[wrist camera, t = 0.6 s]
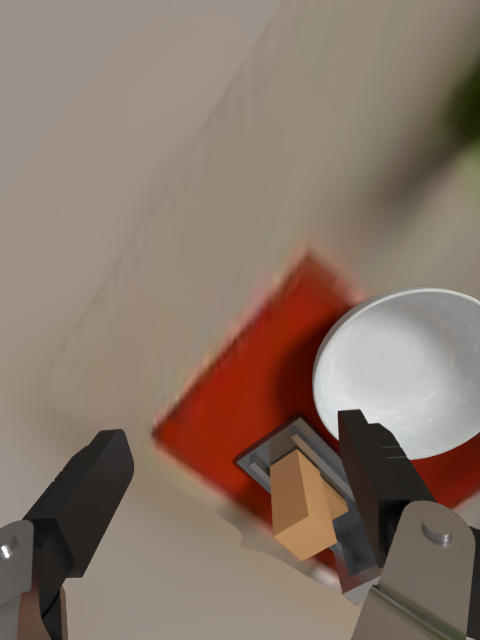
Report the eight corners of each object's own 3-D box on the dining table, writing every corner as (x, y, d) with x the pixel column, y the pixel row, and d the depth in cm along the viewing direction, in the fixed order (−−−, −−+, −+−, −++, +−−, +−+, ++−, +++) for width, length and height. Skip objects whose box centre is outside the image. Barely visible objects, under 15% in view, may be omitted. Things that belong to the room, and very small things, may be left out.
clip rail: (236, 456, 44) (232, 501, 37) (299, 412, 41) (308, 452, 34) (341, 553, 49) (356, 610, 41) (404, 520, 46) (432, 575, 38)
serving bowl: (278, 395, 40) (282, 427, 34) (350, 250, 34) (372, 256, 27) (413, 445, 42) (443, 486, 35) (507, 314, 35) (564, 334, 29)
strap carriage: (269, 466, 42) (273, 536, 33) (297, 448, 41) (308, 516, 31) (321, 515, 44) (338, 594, 35) (348, 499, 43) (374, 576, 34)
